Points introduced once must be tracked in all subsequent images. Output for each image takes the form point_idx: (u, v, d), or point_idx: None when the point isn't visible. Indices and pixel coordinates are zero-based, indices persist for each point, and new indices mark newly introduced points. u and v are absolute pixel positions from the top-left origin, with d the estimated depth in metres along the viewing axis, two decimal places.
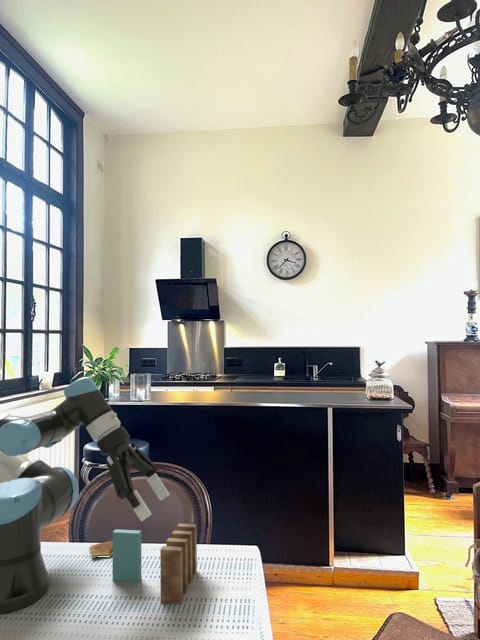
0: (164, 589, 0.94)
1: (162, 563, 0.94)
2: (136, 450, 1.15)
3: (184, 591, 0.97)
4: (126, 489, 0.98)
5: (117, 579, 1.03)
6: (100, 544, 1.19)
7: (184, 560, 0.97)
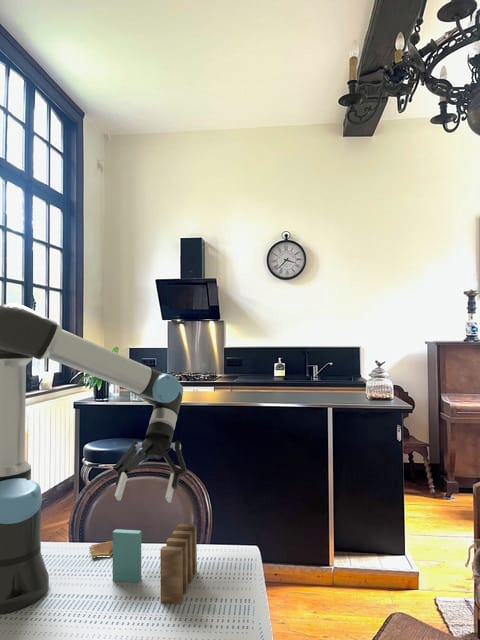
0: (164, 589, 0.94)
1: (162, 564, 0.94)
2: (136, 451, 1.25)
3: (184, 591, 0.97)
4: None
5: (117, 579, 1.03)
6: (100, 544, 1.19)
7: (184, 560, 0.97)
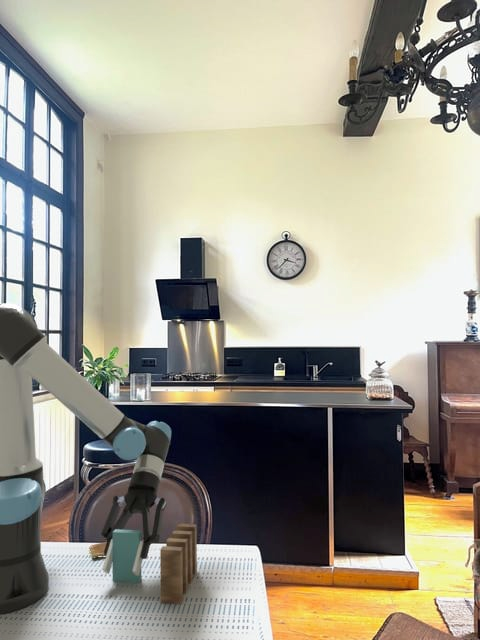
0: (164, 589, 0.94)
1: (162, 564, 0.94)
2: (119, 507, 1.12)
3: (184, 591, 0.97)
4: None
5: (117, 579, 1.03)
6: (100, 544, 1.19)
7: (184, 560, 0.97)
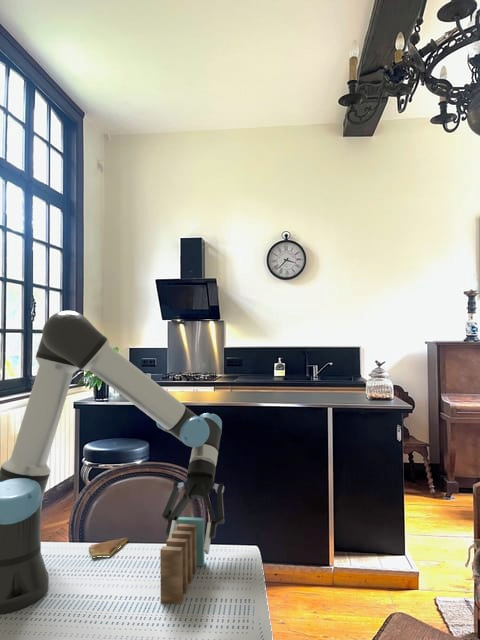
0: (164, 589, 0.94)
1: (162, 564, 0.94)
2: (178, 492, 1.19)
3: (184, 591, 0.97)
4: None
5: None
6: (100, 544, 1.19)
7: (184, 560, 0.97)
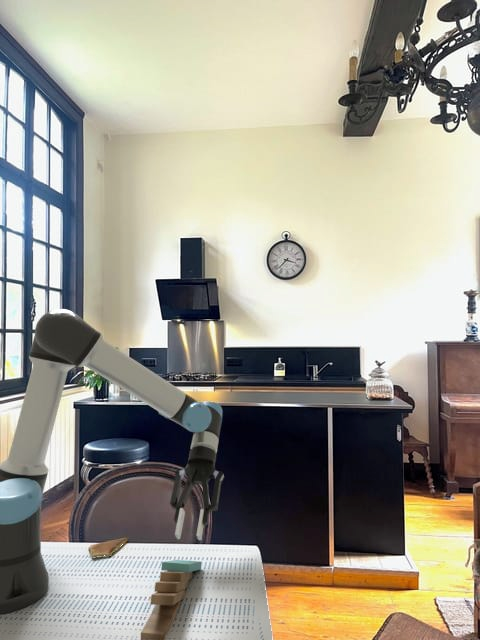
0: None
1: None
2: (181, 480, 1.20)
3: None
4: None
5: None
6: (99, 544, 1.19)
7: None
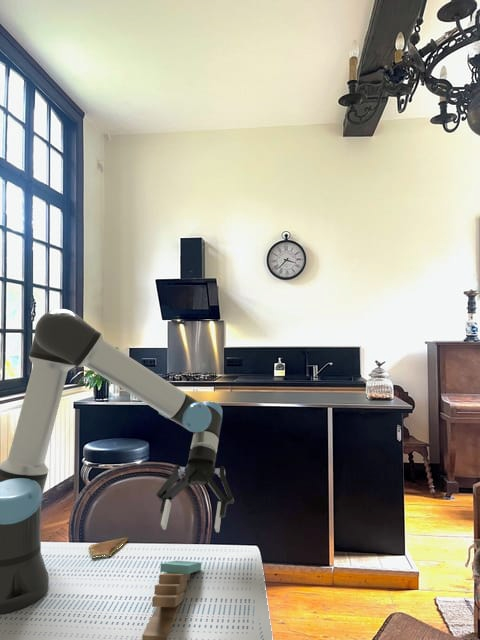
0: None
1: None
2: (178, 476, 1.21)
3: None
4: None
5: None
6: (99, 544, 1.19)
7: None
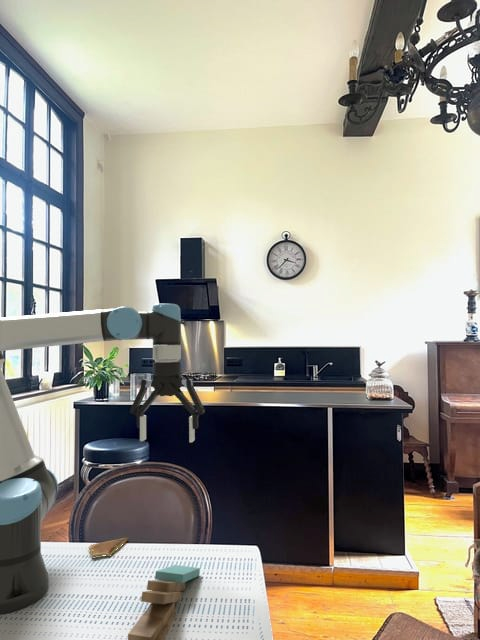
0: None
1: None
2: None
3: None
4: None
5: None
6: (99, 544, 1.19)
7: None
